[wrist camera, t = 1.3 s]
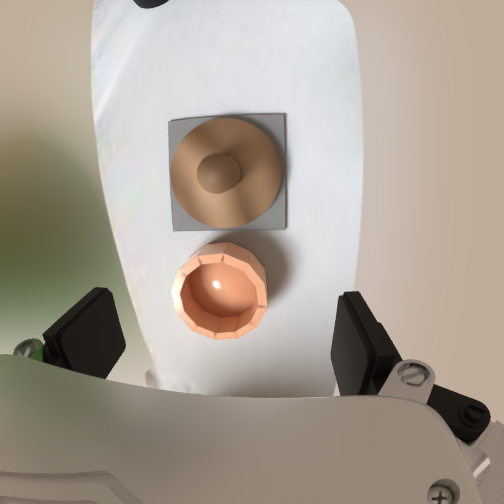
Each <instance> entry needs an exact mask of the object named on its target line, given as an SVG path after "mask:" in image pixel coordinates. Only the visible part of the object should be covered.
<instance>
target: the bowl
mask: <svg viewBox="0 0 504 504" xmlns="http://www.w3.org/2000/svg"><path fill="white" fill-rule="evenodd" d="M172 296H173V300H174V304H175V308H176V312H177V314H178V315H179V316H180V318H181V319H182V320H183V321H184V322H185V323H186V324H187V325H188V326H189V327H190V328H191V330H192V331H194V332H197V333H199V334H202V335H204V336H206V337H209V338H211V339H214V340H220V339H238V338H240V337H241V336H243V335H245V334H246V333H248V332H250V331H251V330H253V329H255V328H256V327H257V326H258V324H259V323H260V321H261V319H262V317H263V315H264V313H265V311H266V309H267V283H266V274H265V268H264V267H263V266H262V264H261V263H260V262H259V261H258V259H257V258H256V257H255V255H254V254H253V253H252V252H251V251H250V250H248V249H245V248H243V247H241V246H238V245H236V244H233V243H231V242H222V243H213V244H206V245H205V246H204V247H202V248H201V249H200V250H198V251H197V252H196V253H194V254H193V255H192V256H191V257H189V259H188V260H187V261H186V262H185V263H184V265H183V266H182V267H181V268H180V269H179V271H178V274H177V277H176V280H175V283H174V286H173V289H172Z"/></svg>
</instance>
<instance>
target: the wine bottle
mask: <svg viewBox="0 0 504 504" xmlns="http://www.w3.org/2000/svg"><path fill="white" fill-rule="evenodd" d="M133 1H134V2H135V3H136V4H137V5H138V6H140V7H141V8H146V9H148V8H154V7H157V6H160V5H162V4H164V3H166V2H167V1H168V0H133Z"/></svg>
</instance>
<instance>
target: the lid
mask: <svg viewBox="0 0 504 504" xmlns="http://www.w3.org/2000/svg"><path fill="white" fill-rule="evenodd" d="M170 177H171V185H172V189H173V192H174V195H175V197H176V199H177V201H178V202H179V204H180V205H181V207H182V208H183V209H184V210H185V211H186V213H188V214H189V215H190V216H191V217H192V218H194V219H195V220H197V221H199V222H201V223H203V224H205V225H208V226H211V227H216V228H234V227H239V226H242V225H245V224H248V223H250V222H252V221H253V220H255V219H257V218H258V217H259V216H261V215H262V214H263V213H264V212H265V211H266V210H267V209H268V208H269V207H270V205H271V204H272V202H273V201H274V199H275V197H276V195H277V192H278V190H279V186H280V182H281V164H280V159H279V156H278V153H277V150H276V148H275V146H274V145H273V143H272V142H271V140H270V139H269V138H268V137H267V135H266V134H265V133H264V132H262V131H261V130H260V129H259V128H257V127H256V126H254V125H252V124H250V123H248V122H246V121H242V120H239V119H233V118H221V119H214V120H210V121H207V122H205V123H202V124H201V125H199V126H197V127H195V128H194V129H193V130H191V131H190V132H189V133H188V134H187V135H186V136H185V137H184V138H183V139H182V141H181V142H180V143H179V145H178V147H177V149H176V151H175V153H174V156H173V159H172V163H171V170H170Z"/></svg>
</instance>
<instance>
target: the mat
mask: <svg viewBox="0 0 504 504" xmlns="http://www.w3.org/2000/svg"><path fill="white" fill-rule="evenodd" d="M221 118H233V119H239V120H242V121H246V122H248V123H250V124H252V125H254V126H256V127H257V128H259V129H260V130H261V131H262V132H264V133H265V134H266V135H267V137H268V138H269V139H270V140H271V142H272V143H273V145H274V146H275V148H276V150H277V153H278V156H279V159H280V164H281V182H280V186H279V190H278V192H277V195H276V197H275V199H274V201H273V202H272V204H271V205H270V207H269V208H268V209H267V210H266V211H265V212H264V213H263V214H262V215H261V216H259V217H258V218H257V219H255V220H253V221H252V222H250V223H248V224H245V225H242V226H239V227H234V228H216V227H211V226H208V225H205V224H203V223H201V222H199V221H197V220H195V219H194V218H192V217H191V216H190V215H189V214H188V213H186V211H185V210H184V209H183V208H182V207H181V205H180V204H179V202H178V201H177V199H176V197H175V195H174V192H173V189H172V185H171V177H170V194H171V210H172V224H173V231H215V230H285V141H284V115H282V114H267V115H233V116H217V117H204V118H193V119H184V120H176V121H168V134H169V173H170V170H171V163H172V159H173V156H174V153H175V151H176V149H177V147H178V145H179V143H180V142H181V141H182V139H183V138H184V137H185V136H186V135H187V134H188V133H189V132H190V131H191V130H193V129H194V128H195V127H197V126H199V125H201V124H202V123H205V122H207V121H210V120H214V119H221Z"/></svg>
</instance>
